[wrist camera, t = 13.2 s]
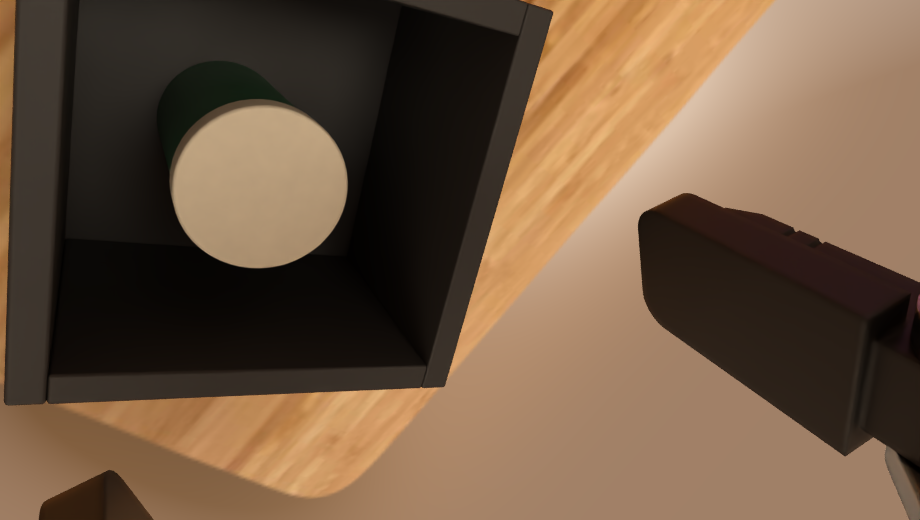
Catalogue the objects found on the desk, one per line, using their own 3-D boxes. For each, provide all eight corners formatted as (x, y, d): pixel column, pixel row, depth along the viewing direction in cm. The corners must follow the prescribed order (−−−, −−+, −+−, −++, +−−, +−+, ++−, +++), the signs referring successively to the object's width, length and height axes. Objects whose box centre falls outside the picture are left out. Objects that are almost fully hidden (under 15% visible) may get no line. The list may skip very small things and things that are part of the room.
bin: (35, 251, 21) (3, 407, 14) (52, -126, 18) (20, -159, 11) (357, 269, 27) (445, 387, 20) (420, -15, 23) (554, 11, 16)
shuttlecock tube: (145, 174, 21) (161, 263, 16) (161, 42, 20) (184, 88, 14) (275, 190, 23) (330, 274, 18) (297, 73, 22) (365, 123, 16)
